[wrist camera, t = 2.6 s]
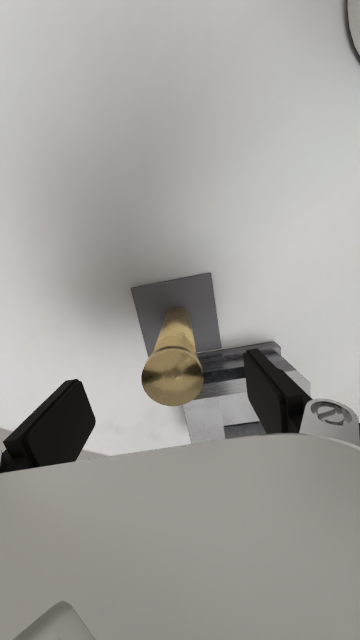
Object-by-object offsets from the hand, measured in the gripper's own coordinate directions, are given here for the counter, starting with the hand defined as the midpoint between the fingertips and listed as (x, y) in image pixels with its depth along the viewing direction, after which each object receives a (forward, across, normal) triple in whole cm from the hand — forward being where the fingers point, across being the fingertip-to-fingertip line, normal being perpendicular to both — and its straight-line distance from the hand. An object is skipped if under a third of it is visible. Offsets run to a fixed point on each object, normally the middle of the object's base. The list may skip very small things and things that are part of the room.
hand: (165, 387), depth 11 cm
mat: (+12, -1, -1) cm, 12 cm away
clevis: (+12, -6, +10) cm, 17 cm away
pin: (+12, -1, -1) cm, 12 cm away
